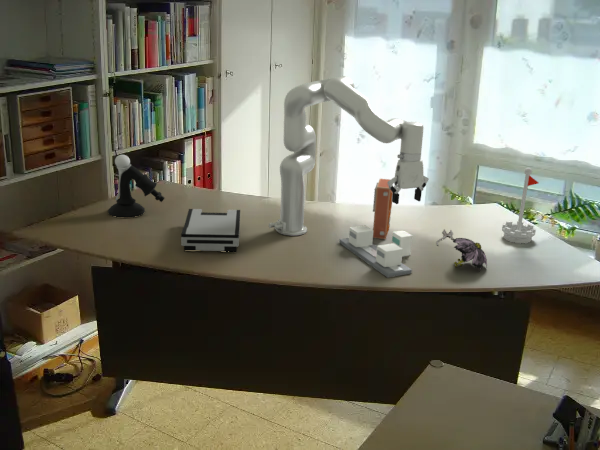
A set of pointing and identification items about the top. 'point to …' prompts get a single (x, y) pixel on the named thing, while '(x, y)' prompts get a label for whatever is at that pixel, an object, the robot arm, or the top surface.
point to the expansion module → (403, 241)
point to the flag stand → (520, 231)
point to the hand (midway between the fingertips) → (406, 201)
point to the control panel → (382, 209)
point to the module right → (389, 255)
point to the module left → (360, 236)
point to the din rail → (373, 253)
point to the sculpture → (126, 202)
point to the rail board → (374, 260)
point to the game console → (211, 231)
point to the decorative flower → (470, 252)
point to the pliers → (446, 236)
